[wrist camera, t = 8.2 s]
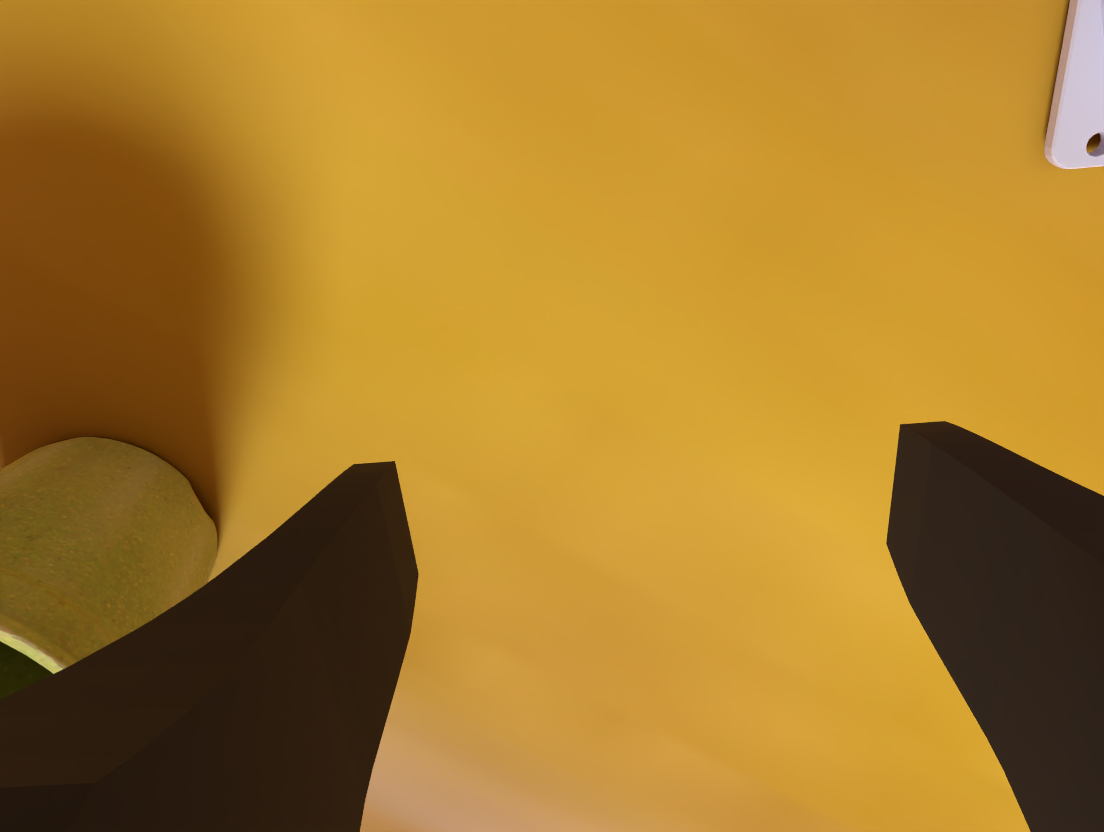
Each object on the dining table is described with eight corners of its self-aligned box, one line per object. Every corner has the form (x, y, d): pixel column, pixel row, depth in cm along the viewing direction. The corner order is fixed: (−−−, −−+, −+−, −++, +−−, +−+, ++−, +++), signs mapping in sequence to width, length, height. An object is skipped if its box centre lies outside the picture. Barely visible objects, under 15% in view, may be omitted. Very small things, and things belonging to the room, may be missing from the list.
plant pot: (-31, 323, 21) (-366, 512, 14) (316, 455, 23) (190, 690, 15) (-64, 580, 25) (-338, 837, 18) (233, 677, 27) (101, 950, 19)
